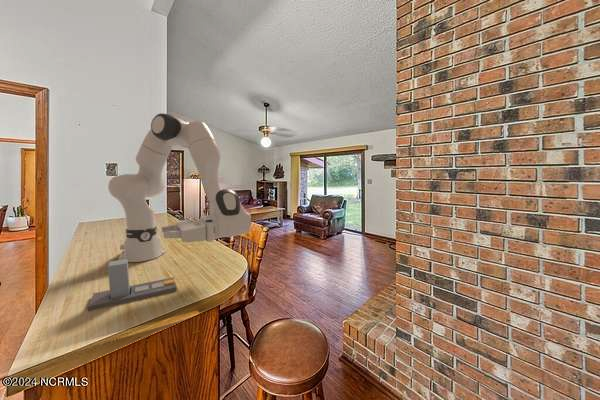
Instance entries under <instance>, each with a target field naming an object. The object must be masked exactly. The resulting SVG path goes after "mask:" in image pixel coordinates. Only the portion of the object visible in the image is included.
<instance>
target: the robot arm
mask: <svg viewBox="0 0 600 400" xmlns="http://www.w3.org/2000/svg"><path fill="white" fill-rule="evenodd" d="M174 146H180V147H183V148H187V149H188V151H189V154H190V156H191V158H192V160H193V163H194V166H195V168H196V170H197V173H198V175H199V178H200V180H201V184H202V187H203V190H204V193H205V197H206V199H207V203H208V204H207V205H208V206H207V215H206V214H205V215H200V219H199V218H198V219H184V220H183V219H182V220H176V221H175V224H171V225H167V226H165V225H164V226H162V227H161V231H162V233H163V238H164V240H165V239H181V241H182V242H184V243H197V242H205V241H206V242H207V243H210V242H214V241H215V240H216V239H220V238H225V237H227V238H230V237H231V238H232V237H236V236H237V237H238V236H243V235H245V234H247V233H248V232H249V231H250V229H251V227H252V216H251V214H250V213H249V212H248V211H247V210H246V209H245V207H244V206H243V204H242V202H241V200H240V196H239V194H238V193H237V192H236V191H234V190H233V189H229V188H223V189H221V187H220V184H219V181H218V179H219V178H218V174H219V173H218V172H219V167H220V162H221V154H220V153H221V152H220V149H219V146H218V144H217V141H216V139H215V136H214V135H213V133H212V131H211V130H210V128H209V127H208V125H207V124H206V123H205V122H203V121H201V120H200V121H199V120H193V121H187V120H186V119H182V118H179V117H176V116H173V115H172V114H169V113H158V114H156V115H155V116H154V117H153V118H152V120H151V124H150V129H149V131H148V132H147V133H146V135H145V137H144V139H143V141H142V143H141V145H140V148H139V149H138V152H137V154H136V156H135V162H136V164H137V165H138V166H139V168H138V172H137V173H131V174H130V173H125V174H120V175H116V176H113V177H111V178H110V180H109V182H108V186H107V187H108V192H109V193H110V195H111V196H112V197H113V198H114V199H116V200H118V202H120V204H121V206H122V208H123V211H124V214H125V222H126V229H125V240H124V242H123V244H120V245H119V249H120V252H119V255H118V260H125V259H128V263H138V262H139V263H140V262H146V261H147V262H148V261H151V260H153V259H156V258H159V257H160V256H161V255H163V254H165V253H166V250H164V249H163V248H162V238H161V237H160V236H159V235H158V232H157V231H158V229H157V226H156V217H155V216H156V215H155V210H154V209H153V208H152V206H151V207H150V206H149V204H148V203H147V199H146V198H151V197H155V196H158V195H160V194H162V192H163V191H164V189H165V182H164V180H163V179H162V176H163V175H162V174H163V170H164V166H165V164H166V162H167V160H168V157H169V155H170V153H171V150H172V149H173V147H174Z"/></svg>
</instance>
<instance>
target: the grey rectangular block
mask: <svg viewBox="0 0 600 400" xmlns="http://www.w3.org/2000/svg"><path fill="white" fill-rule="evenodd" d="M129 270H130V269H129V262H128V259H125V260H119V259H117V260H112V261H109V262H108V265H107V271H108V272H107V273H108V282H109V283H108V285H109V290H110V298H111V299H113V298H118V297H122V296H127V295H130V286H131V284H130V271H129Z"/></svg>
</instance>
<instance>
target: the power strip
mask: <svg viewBox="0 0 600 400" xmlns="http://www.w3.org/2000/svg"><path fill="white" fill-rule="evenodd" d="M177 291H178V289H177V283H176V280H175V277H168V278H164V279H158V280H154V281H149V282H143V283H139V284H132V285H130V295H127V296H122V297H118V298H113V299H111V298H110V289H108V290H104V291H99V292H94V293H93V294H92V296H91V299H90V300H89V303H88V305H87V310H88V312H90V311H94V310H98V309H102V308H107V307H111V306H115V305H120V304H125V303H130V302H132V301H137V300H143V299H146V298H151V297H156V296H160V295H164V294H169V293H173V292H177Z"/></svg>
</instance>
